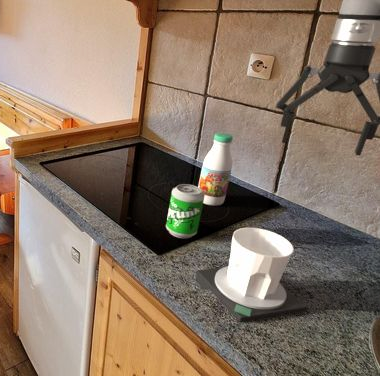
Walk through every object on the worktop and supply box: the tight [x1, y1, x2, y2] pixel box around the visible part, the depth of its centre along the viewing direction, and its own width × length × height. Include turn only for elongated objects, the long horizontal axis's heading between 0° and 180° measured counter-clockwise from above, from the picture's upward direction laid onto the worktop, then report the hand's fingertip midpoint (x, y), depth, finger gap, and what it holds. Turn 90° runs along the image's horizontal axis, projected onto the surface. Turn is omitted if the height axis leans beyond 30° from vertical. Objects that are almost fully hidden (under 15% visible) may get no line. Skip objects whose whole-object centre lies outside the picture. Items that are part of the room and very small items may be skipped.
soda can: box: [165, 183, 205, 239], centre depth 99 cm, size 8×8×12 cm
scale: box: [195, 265, 308, 323], centre depth 79 cm, size 14×14×3 cm
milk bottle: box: [197, 132, 233, 206], centre depth 115 cm, size 8×8×20 cm
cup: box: [227, 227, 294, 299], centre depth 76 cm, size 10×10×10 cm
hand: (319, 147), depth 87 cm, fingers open, 13 cm apart
